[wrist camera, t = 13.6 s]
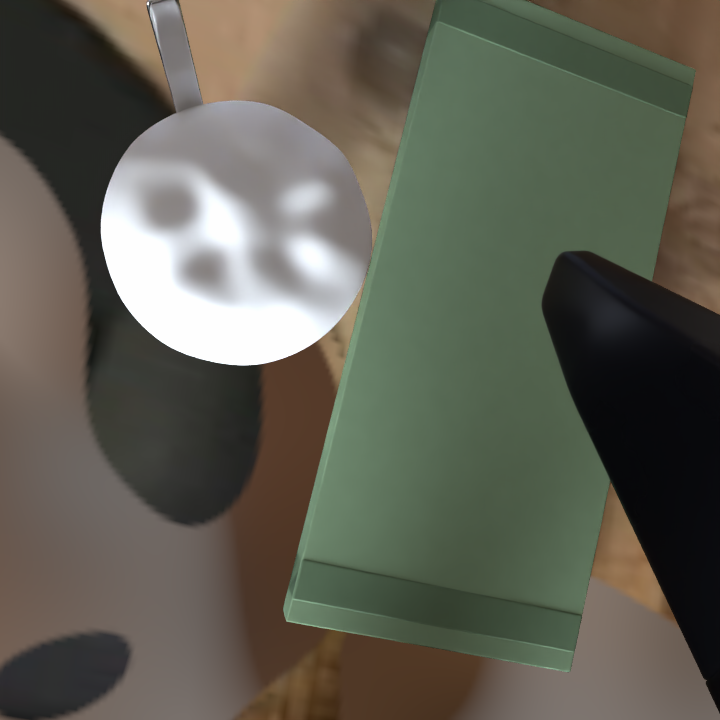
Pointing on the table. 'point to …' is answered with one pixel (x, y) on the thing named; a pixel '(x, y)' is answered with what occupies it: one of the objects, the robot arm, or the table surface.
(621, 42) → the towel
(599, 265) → the robot arm
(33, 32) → the table surface
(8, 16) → the table surface
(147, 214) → the milkshake
